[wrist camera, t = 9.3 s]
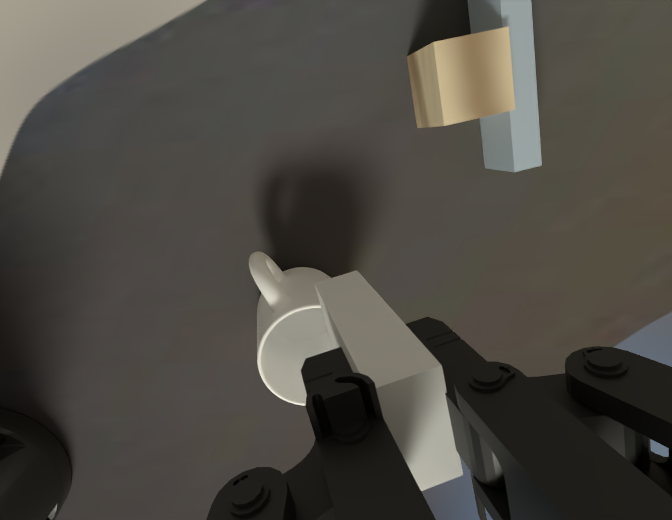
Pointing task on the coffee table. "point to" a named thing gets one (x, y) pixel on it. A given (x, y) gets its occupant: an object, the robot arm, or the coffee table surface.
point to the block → (462, 78)
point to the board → (522, 123)
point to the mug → (287, 325)
